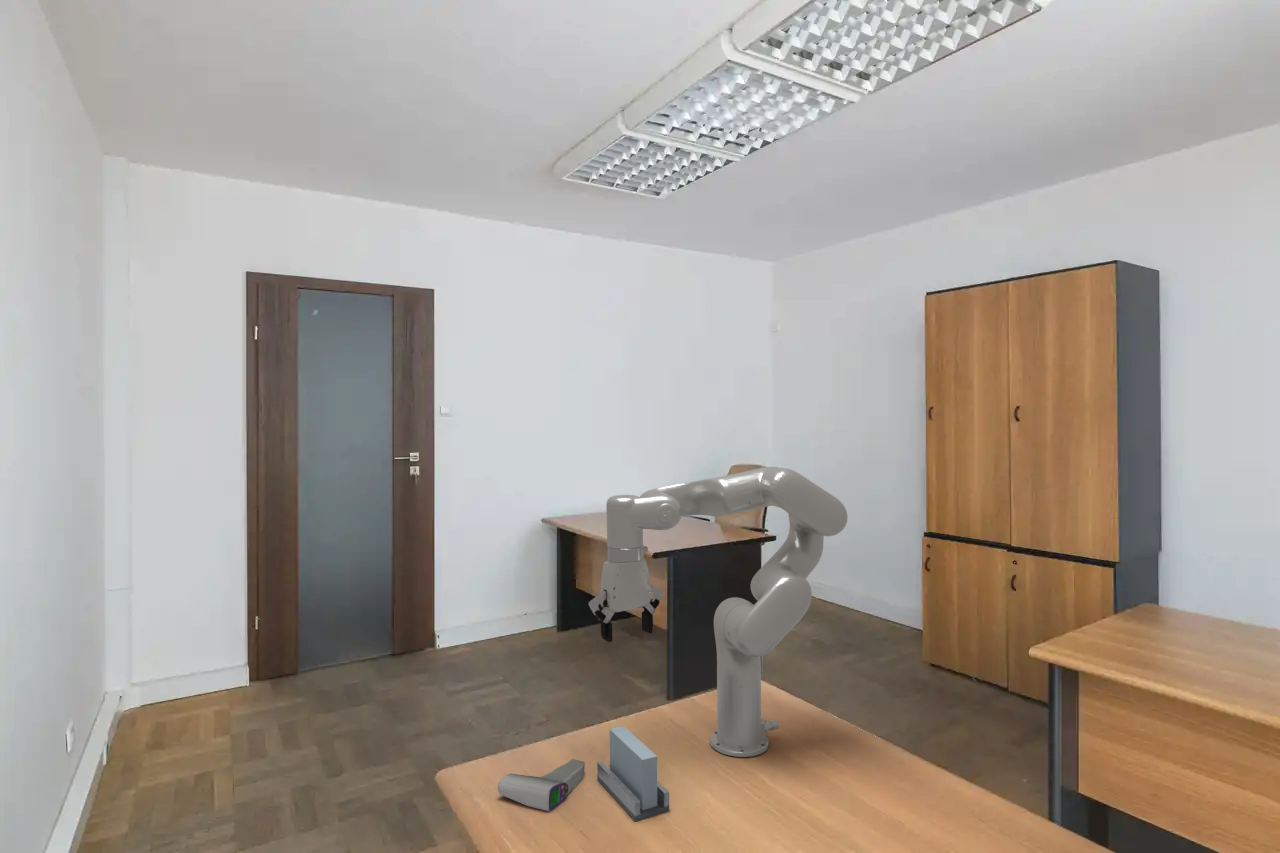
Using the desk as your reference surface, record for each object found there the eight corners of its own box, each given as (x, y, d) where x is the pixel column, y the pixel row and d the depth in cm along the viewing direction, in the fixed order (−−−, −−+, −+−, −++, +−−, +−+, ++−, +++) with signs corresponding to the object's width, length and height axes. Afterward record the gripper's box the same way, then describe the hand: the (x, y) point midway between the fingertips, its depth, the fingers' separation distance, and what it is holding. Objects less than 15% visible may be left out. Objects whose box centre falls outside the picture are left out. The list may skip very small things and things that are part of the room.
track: (597, 780, 135) (597, 762, 135) (629, 771, 138) (628, 754, 138) (635, 821, 121) (634, 802, 121) (669, 811, 124) (669, 791, 124)
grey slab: (609, 774, 135) (609, 729, 135) (623, 770, 136) (623, 725, 136) (642, 810, 123) (642, 760, 123) (657, 805, 124) (657, 756, 124)
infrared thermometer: (589, 781, 137) (552, 816, 123) (536, 769, 142) (495, 802, 128) (590, 757, 137) (553, 789, 123) (537, 747, 142) (496, 776, 128)
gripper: (650, 547, 151) (652, 624, 151) (580, 556, 142) (582, 639, 142) (669, 552, 145) (671, 632, 145) (597, 562, 136) (599, 649, 136)
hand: (627, 635), depth 144 cm, fingers open, 9 cm apart
